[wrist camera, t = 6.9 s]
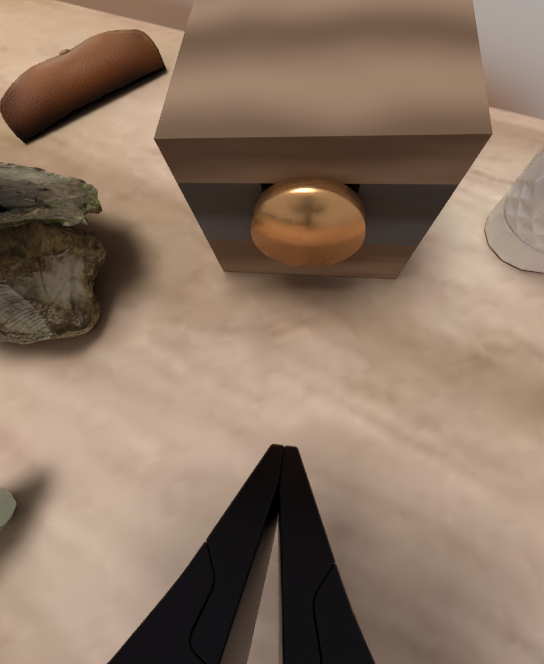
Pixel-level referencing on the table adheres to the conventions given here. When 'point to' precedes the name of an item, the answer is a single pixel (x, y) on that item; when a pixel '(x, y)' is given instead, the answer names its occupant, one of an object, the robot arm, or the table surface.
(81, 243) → the hollow geode rock
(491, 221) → the white cup
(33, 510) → the table surface
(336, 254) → the capped peg
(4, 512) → the pale green bulging piece
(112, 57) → the sunglasses case
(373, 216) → the walnut block
